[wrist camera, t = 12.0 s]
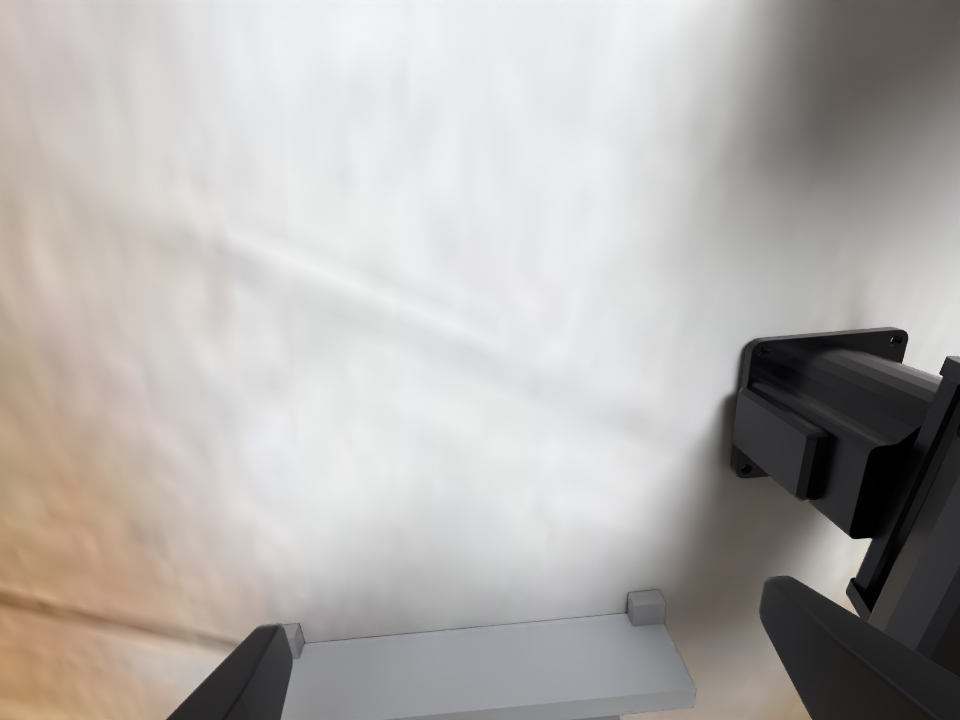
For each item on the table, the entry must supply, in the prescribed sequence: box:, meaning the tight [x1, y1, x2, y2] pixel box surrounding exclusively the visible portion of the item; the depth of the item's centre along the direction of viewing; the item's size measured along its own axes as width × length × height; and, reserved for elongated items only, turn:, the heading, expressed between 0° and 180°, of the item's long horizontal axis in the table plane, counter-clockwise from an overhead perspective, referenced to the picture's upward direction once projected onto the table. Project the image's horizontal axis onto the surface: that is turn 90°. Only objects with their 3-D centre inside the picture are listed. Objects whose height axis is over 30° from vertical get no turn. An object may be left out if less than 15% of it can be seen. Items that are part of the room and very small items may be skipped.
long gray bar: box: [281, 590, 696, 720], centre depth 21 cm, size 20×4×4 cm, turn 94°
